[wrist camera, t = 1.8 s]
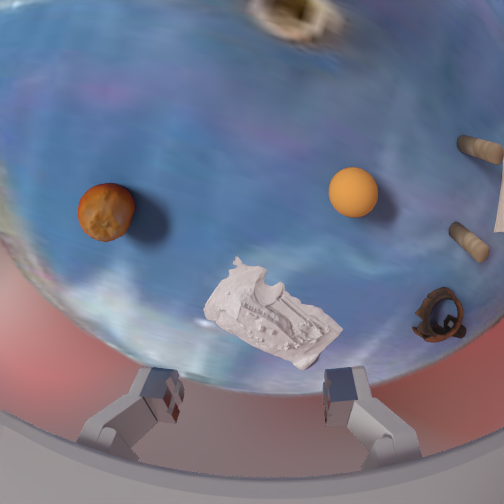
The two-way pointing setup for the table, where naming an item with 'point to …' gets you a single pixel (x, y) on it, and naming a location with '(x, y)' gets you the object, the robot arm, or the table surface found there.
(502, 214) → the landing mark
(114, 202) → the fruit
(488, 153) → the post
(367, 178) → the ball
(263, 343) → the terrain model
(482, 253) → the post
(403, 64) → the table surface
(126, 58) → the table surface
